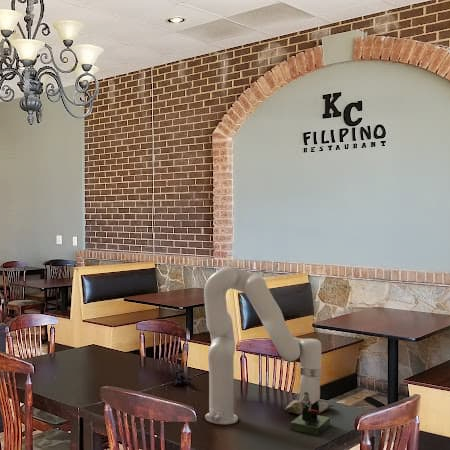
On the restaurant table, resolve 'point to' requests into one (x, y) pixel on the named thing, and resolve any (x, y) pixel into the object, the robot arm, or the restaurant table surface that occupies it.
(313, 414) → the dial
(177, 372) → the toy
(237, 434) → the restaurant table surface
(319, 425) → the panel
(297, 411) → the stone
